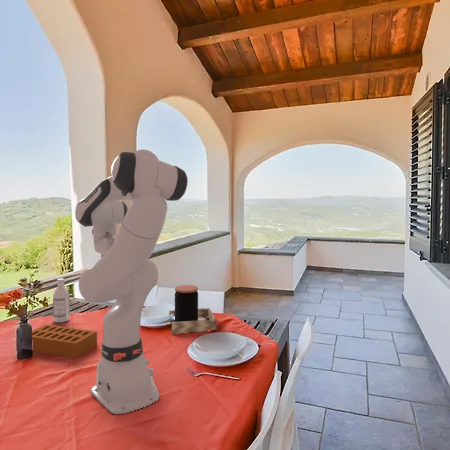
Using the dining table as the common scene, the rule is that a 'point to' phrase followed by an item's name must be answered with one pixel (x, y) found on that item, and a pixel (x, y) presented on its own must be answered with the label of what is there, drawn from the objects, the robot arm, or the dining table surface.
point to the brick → (63, 340)
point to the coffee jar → (186, 303)
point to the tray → (195, 323)
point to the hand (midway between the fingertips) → (105, 265)
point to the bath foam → (61, 303)
